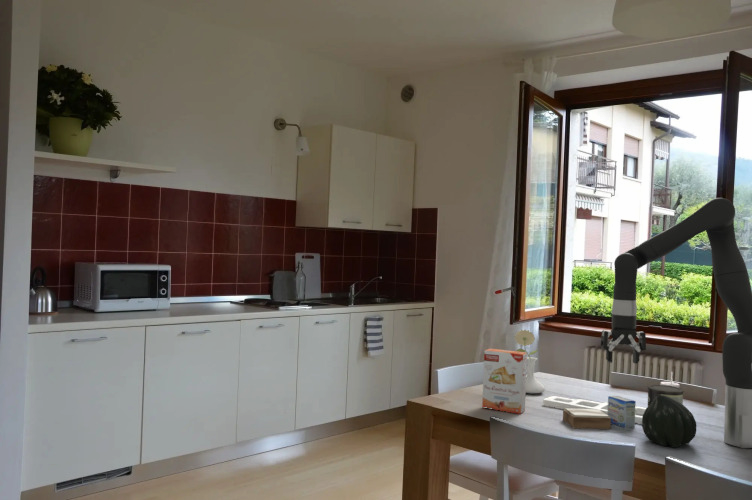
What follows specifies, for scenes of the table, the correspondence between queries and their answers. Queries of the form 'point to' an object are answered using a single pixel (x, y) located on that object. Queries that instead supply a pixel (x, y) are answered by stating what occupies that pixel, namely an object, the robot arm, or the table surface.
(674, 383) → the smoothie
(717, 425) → the table surface
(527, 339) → the flower in vase
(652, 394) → the coffee can
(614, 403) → the medicine box
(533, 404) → the table surface
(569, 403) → the holder
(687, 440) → the squash
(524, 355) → the cracker box
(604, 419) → the plinth
